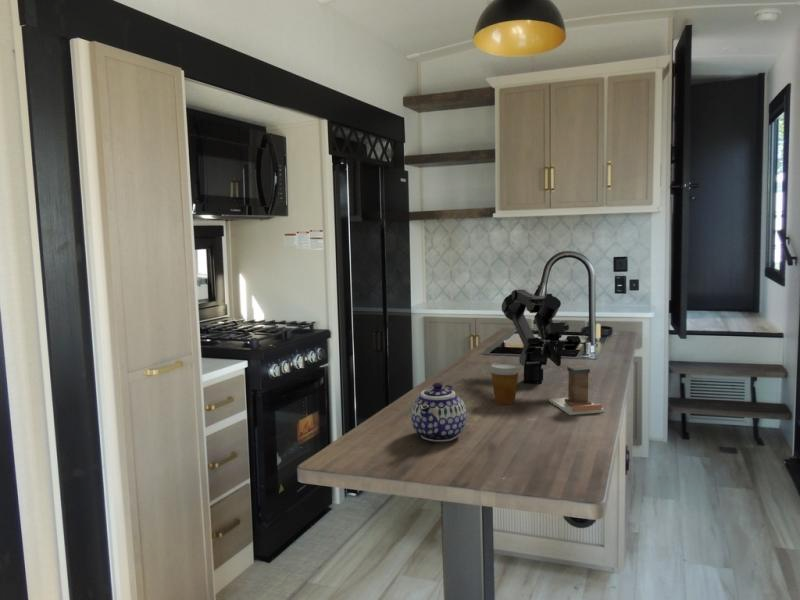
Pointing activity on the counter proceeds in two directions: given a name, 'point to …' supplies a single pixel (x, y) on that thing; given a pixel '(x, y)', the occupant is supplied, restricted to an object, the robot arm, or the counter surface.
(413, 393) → the counter surface
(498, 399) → the disposable coffee cup
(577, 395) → the brown wooden pedestal
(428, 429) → the teapot
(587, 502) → the counter surface
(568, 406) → the thin white base plate
